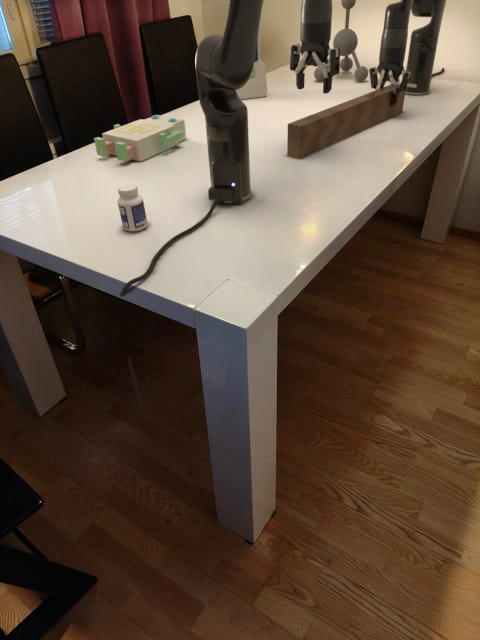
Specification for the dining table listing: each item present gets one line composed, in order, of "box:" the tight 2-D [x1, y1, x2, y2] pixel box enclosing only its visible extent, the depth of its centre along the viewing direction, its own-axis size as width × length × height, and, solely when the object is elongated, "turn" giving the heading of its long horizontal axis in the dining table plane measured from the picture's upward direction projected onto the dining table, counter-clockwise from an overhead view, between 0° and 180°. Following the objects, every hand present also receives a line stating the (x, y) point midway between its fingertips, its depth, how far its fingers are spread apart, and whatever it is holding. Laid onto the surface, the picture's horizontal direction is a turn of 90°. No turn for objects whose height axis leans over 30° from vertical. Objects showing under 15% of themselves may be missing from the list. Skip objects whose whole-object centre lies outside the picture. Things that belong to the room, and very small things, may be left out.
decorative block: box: [93, 114, 187, 162], centre depth 144 cm, size 26×6×20 cm
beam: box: [286, 84, 406, 160], centre depth 146 cm, size 54×4×9 cm, turn 136°
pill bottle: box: [117, 182, 148, 232], centre depth 102 cm, size 5×5×9 cm
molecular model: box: [313, 0, 369, 82], centre depth 196 cm, size 24×22×30 cm
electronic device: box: [236, 31, 268, 100], centre depth 180 cm, size 12×8×30 cm, turn 105°
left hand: (313, 90), depth 129 cm, fingers open, 8 cm apart
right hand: (385, 104), depth 157 cm, fingers closed on beam, 4 cm apart
